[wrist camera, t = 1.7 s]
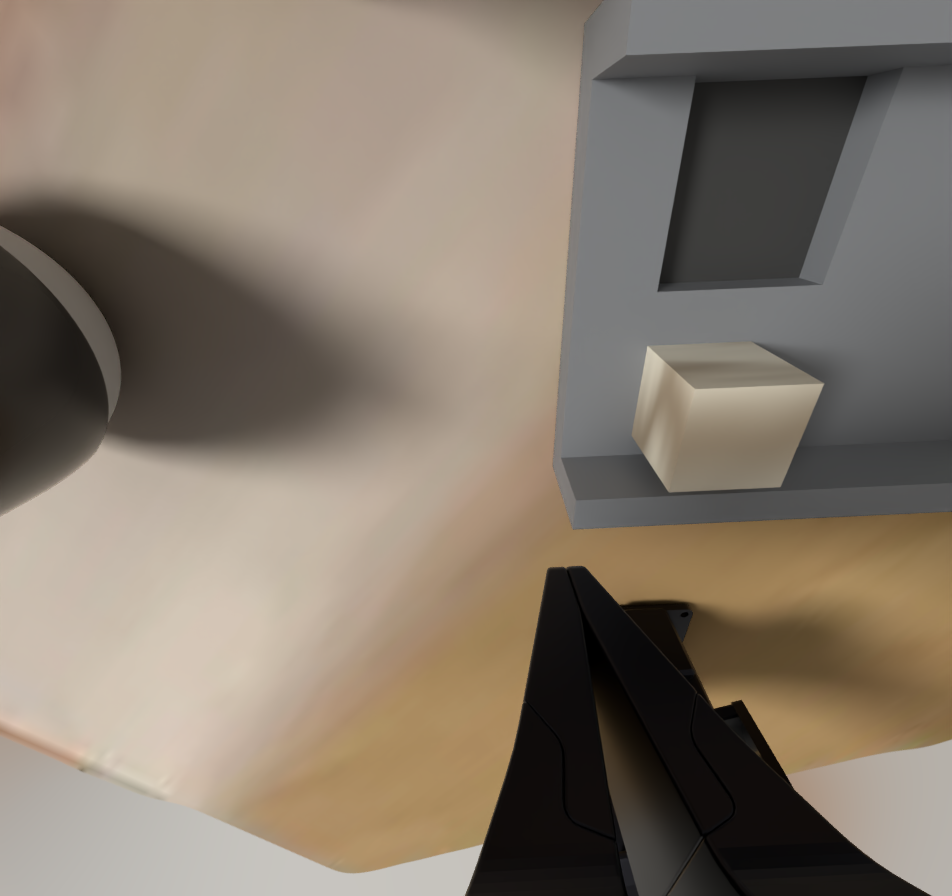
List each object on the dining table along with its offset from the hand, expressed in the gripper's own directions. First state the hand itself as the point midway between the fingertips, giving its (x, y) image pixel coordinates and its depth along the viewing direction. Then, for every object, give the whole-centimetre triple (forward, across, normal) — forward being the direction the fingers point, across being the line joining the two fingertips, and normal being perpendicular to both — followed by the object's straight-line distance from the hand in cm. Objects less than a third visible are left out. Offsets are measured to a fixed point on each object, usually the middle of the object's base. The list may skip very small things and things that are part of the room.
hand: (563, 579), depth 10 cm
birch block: (+9, -7, 0) cm, 12 cm away
